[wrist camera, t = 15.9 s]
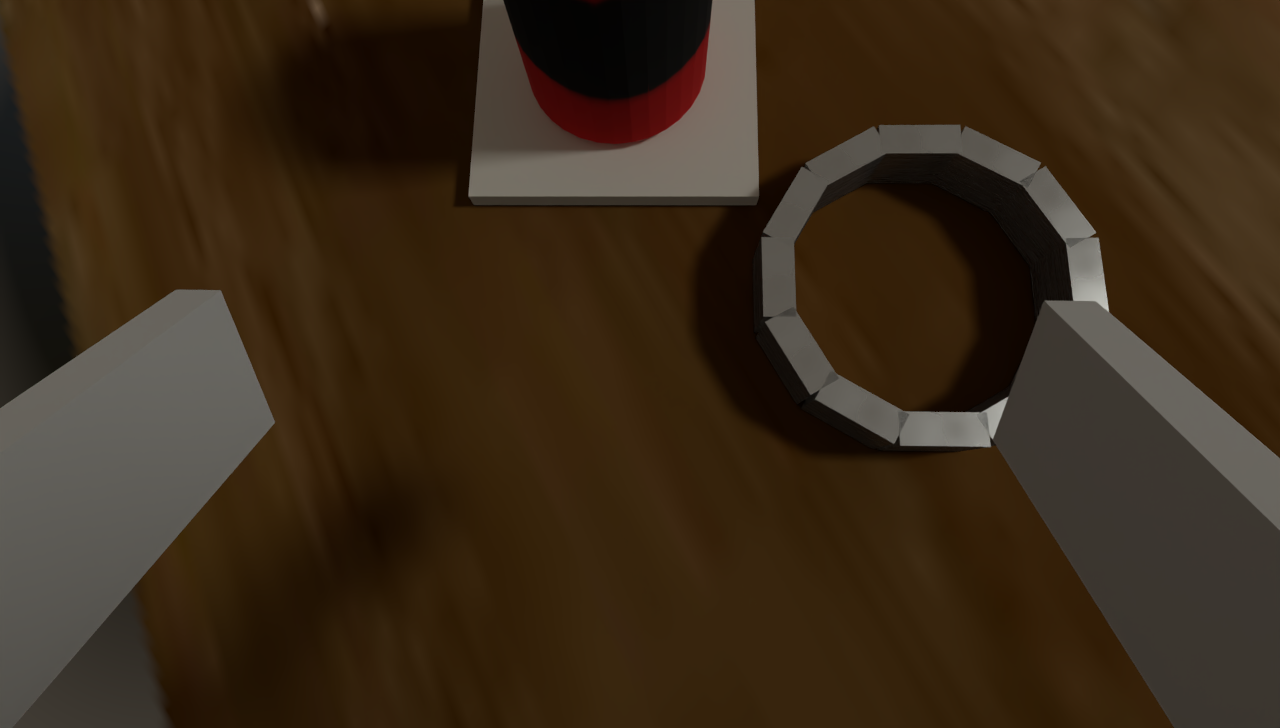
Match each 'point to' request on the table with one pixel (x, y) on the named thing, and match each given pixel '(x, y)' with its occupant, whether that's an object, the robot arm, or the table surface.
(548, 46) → the soda can
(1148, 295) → the table surface
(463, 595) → the table surface
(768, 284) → the steel ring holder
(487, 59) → the cream coaster
